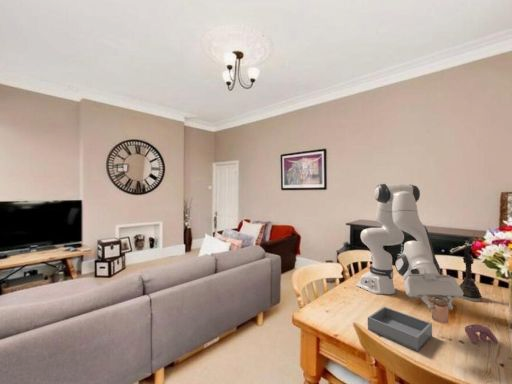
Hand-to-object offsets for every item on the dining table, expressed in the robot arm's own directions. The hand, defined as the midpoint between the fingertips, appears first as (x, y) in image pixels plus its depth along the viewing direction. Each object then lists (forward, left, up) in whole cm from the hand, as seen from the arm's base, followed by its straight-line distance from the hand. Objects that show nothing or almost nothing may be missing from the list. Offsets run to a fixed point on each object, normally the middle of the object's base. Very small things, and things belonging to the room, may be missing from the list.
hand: (440, 308), depth 95 cm
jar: (0, 0, -5) cm, 5 cm away
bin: (-16, +1, -17) cm, 23 cm away
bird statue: (-8, +68, -17) cm, 71 cm away
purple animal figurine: (+8, +21, -17) cm, 29 cm away
